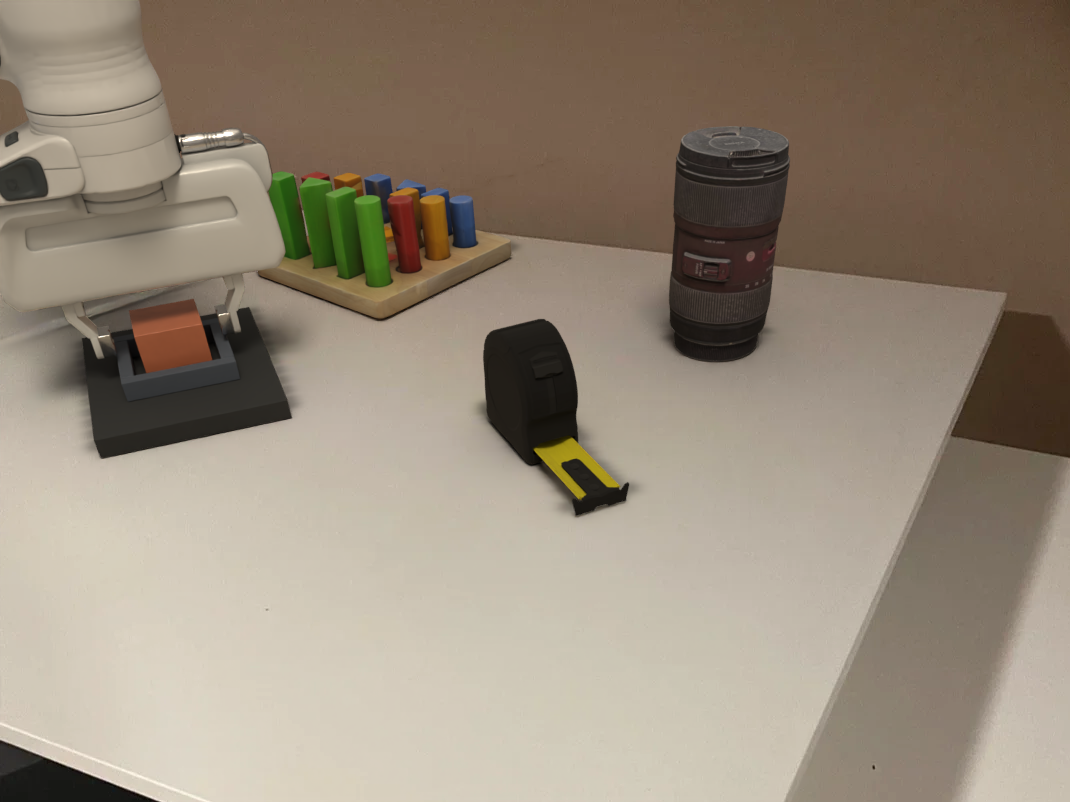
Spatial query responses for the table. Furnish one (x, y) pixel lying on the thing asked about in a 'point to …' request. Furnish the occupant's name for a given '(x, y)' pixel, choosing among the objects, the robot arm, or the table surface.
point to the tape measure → (543, 408)
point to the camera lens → (725, 238)
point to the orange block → (170, 335)
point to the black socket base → (182, 391)
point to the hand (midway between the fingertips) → (170, 342)
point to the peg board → (376, 240)
